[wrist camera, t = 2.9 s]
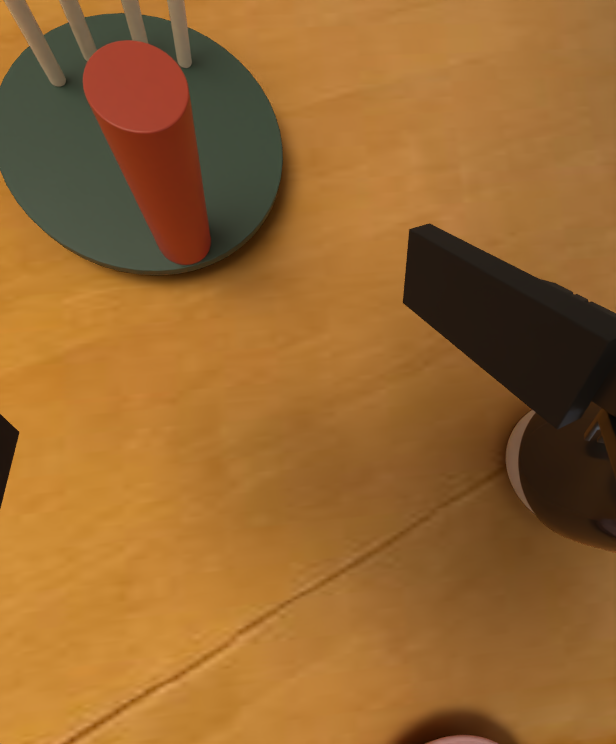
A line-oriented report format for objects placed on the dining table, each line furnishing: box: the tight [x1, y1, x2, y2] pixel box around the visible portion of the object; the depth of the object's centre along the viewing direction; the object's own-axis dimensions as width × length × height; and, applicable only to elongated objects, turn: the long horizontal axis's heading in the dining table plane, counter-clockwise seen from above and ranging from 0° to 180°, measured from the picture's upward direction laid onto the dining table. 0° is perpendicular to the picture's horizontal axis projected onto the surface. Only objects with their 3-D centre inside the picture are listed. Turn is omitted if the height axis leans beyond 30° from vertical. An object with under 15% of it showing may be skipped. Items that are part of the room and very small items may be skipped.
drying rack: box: [0, 0, 283, 275], centre depth 18 cm, size 17×17×13 cm
